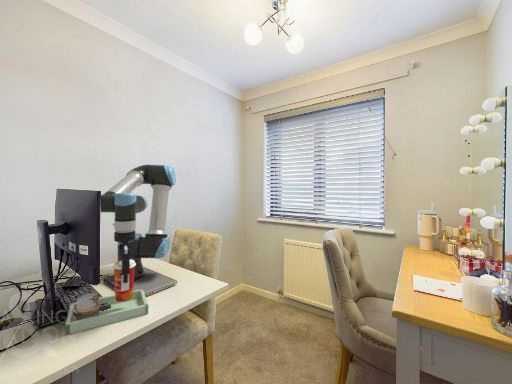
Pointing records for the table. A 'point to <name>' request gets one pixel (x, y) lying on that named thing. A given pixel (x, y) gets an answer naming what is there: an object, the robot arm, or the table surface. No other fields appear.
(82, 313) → the translucent rounded dome
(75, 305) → the tray
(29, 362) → the table surface
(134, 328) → the table surface
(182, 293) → the table surface
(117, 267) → the coffee cup
